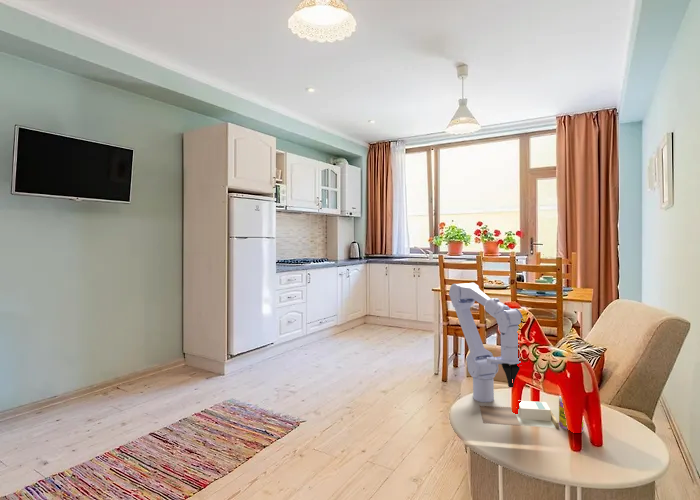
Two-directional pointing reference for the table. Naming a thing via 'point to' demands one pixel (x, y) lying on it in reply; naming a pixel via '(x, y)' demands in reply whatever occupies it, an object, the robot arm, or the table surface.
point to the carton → (534, 410)
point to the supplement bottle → (563, 415)
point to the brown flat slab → (512, 418)
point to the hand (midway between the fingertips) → (510, 386)
